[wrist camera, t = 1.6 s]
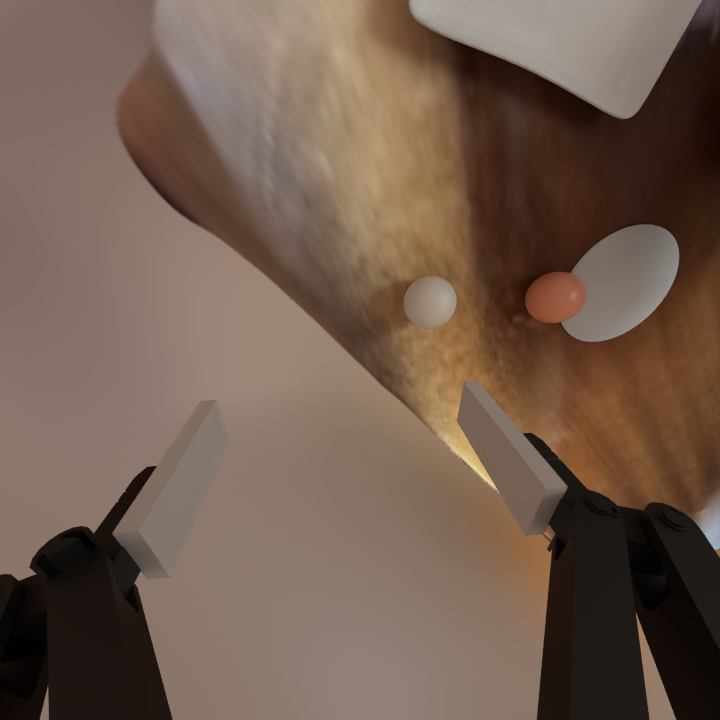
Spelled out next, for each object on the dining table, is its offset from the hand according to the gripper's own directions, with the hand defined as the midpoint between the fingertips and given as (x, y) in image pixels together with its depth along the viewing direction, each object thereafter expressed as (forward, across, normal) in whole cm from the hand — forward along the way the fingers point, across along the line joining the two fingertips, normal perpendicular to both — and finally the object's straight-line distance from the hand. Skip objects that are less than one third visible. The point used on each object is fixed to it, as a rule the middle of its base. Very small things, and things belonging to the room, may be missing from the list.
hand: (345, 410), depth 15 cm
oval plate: (+19, +34, 0) cm, 39 cm away
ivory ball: (+16, +10, +1) cm, 19 cm away
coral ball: (+16, +24, 0) cm, 29 cm away
